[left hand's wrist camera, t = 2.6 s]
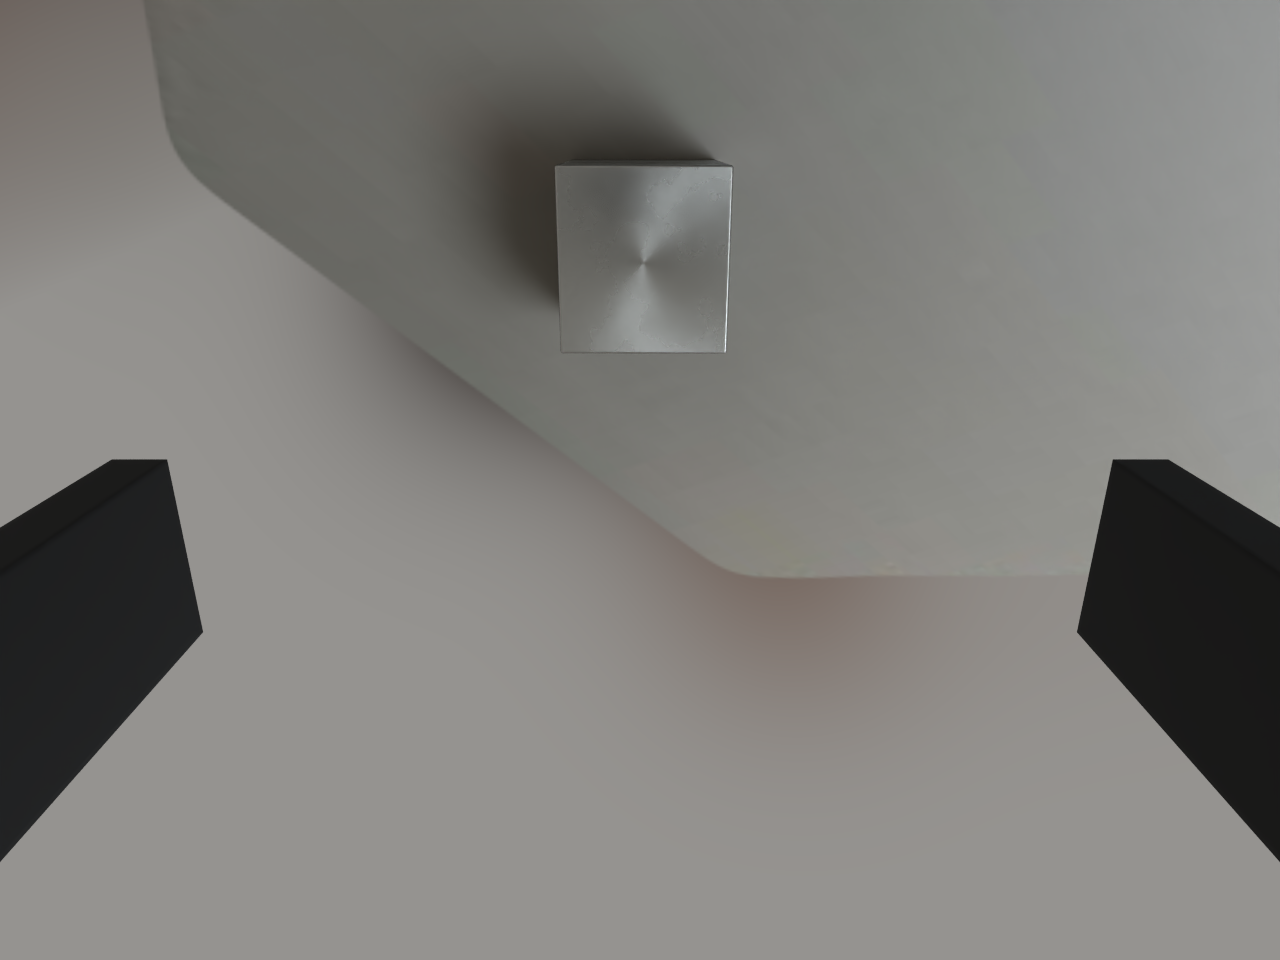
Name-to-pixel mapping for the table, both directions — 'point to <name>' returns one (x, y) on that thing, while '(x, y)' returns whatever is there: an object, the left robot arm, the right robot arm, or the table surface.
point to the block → (643, 255)
